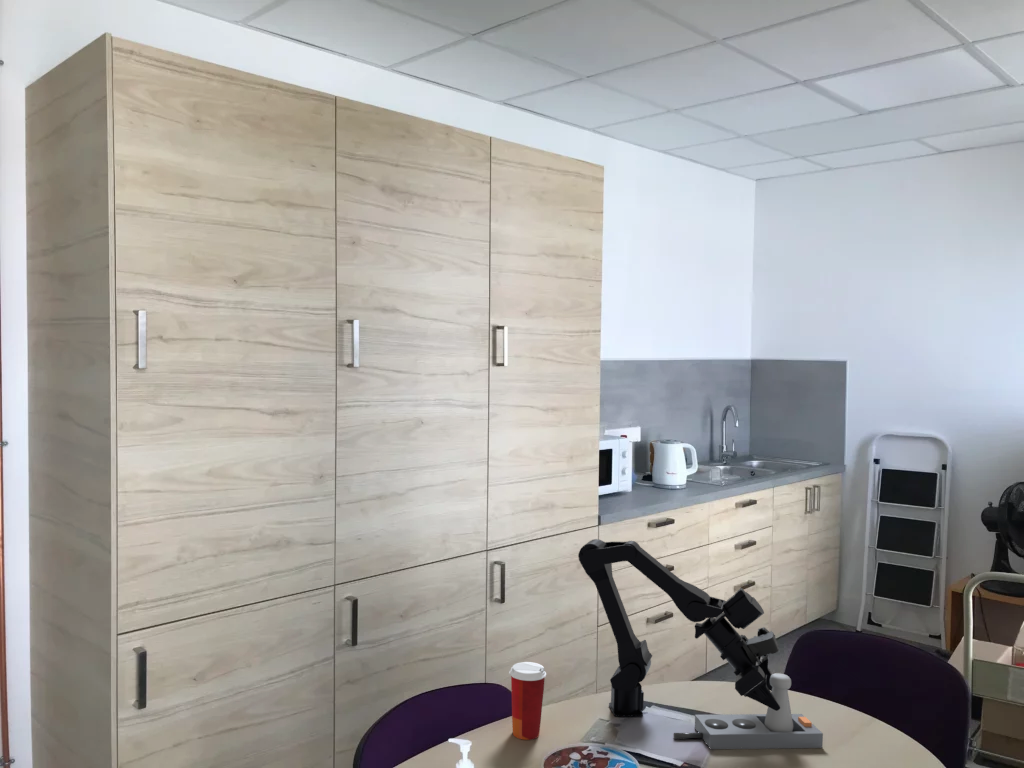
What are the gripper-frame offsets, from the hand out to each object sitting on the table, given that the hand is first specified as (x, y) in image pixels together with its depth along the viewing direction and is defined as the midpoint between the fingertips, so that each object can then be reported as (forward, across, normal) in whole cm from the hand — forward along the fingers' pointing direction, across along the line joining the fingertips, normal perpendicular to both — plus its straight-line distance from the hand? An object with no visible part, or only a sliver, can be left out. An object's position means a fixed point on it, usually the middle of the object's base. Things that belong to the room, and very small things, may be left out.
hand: (779, 701), depth 169 cm
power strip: (+1, -3, +10) cm, 11 cm away
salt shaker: (+6, 0, +5) cm, 8 cm away
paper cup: (-29, -20, +41) cm, 54 cm away
